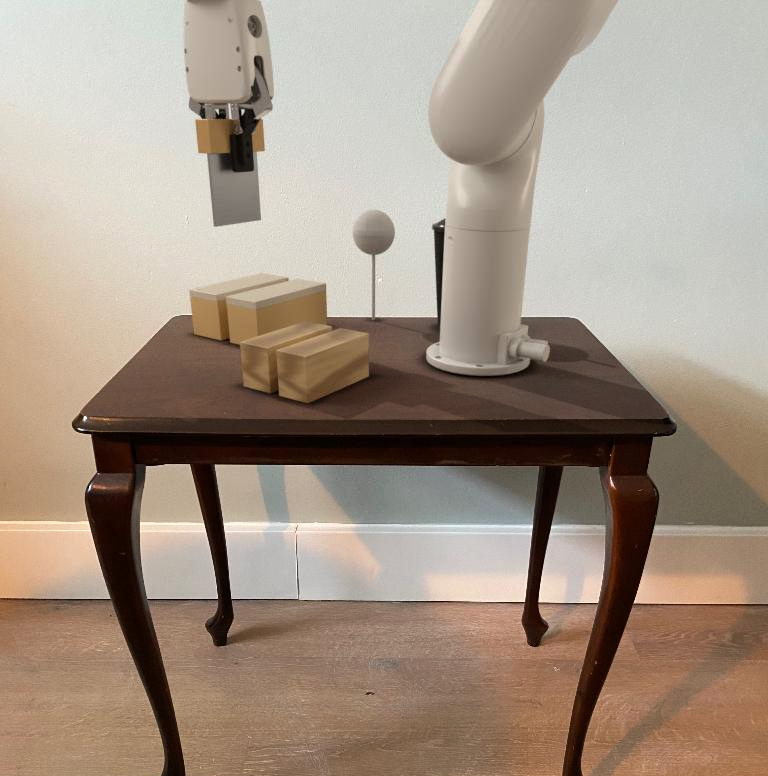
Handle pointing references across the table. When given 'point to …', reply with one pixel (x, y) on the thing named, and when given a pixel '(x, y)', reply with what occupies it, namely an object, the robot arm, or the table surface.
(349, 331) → the split wooden block
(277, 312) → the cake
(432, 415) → the table surface
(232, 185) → the knife
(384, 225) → the lollipop
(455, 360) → the robot arm
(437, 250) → the drinking cup
